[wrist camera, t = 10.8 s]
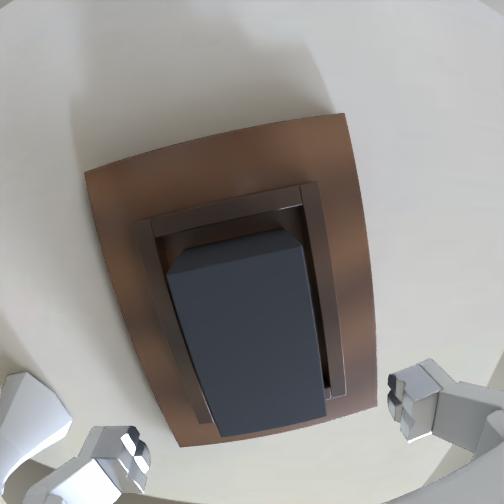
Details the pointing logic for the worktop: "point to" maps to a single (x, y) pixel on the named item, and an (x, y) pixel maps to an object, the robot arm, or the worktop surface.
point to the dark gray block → (251, 330)
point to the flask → (27, 421)
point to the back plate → (235, 225)
